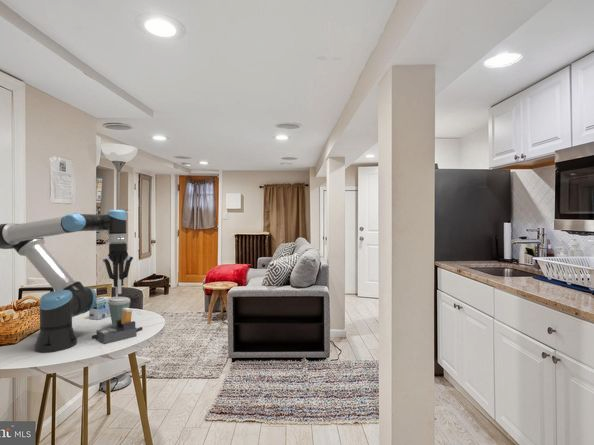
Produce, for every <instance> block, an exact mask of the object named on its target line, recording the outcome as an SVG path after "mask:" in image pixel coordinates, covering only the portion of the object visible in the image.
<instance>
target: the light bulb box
mask: <svg viewBox="0 0 594 445" xmlns="http://www.w3.org/2000/svg"><path fill="white" fill-rule="evenodd" d="M112 297H113V296H100V297H97V299H96V304H95V306H94V307H93V308H92V309H91V310H89V311H88V315H89V317H88V319H90V320H96V321H97V320H98V321H99V320H102V319H105V318H108V317H109V318H110V317H111V315H110V309H109V304H108V301H109V299H110V298H112Z"/></svg>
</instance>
